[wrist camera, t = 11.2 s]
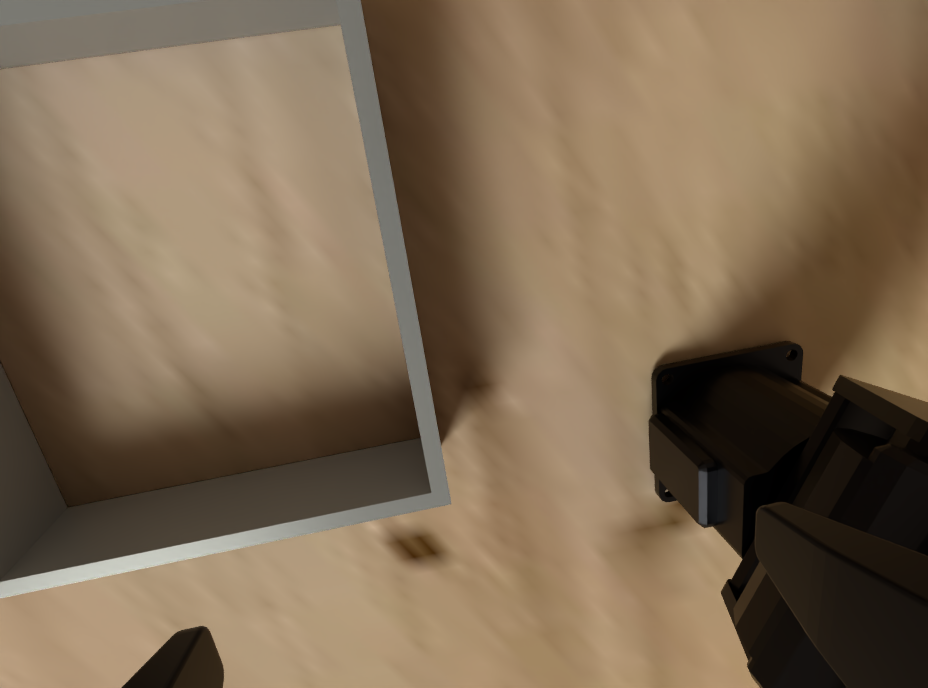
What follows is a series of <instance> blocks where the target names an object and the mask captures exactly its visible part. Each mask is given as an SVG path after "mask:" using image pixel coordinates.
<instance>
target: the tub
mask: <svg viewBox="0 0 928 688" xmlns="http://www.w3.org/2000/svg"><path fill="white" fill-rule="evenodd" d="M334 25H341V28H342V33H343V38H344V43H345V49H346V54H347V59H348V64H349V69H350V74H351V80H352V85H353V90H354V95H355V100H356V105H357V111H358V116H359V121H360V126H361V131H362V136H363V142H364V147H365V152H366V157H367V162H368V167H369V173H370V178H371V183H372V188H373V193H374V198H375V204H376V209H377V214H378V219H379V224H380V229H381V235H382V240H383V245H384V250H385V255H386V260H387V266H388V271H389V276H390V281H391V286H392V291H393V297H394V302H395V307H396V312H397V317H398V322H399V328H400V333H401V338H402V343H403V348H404V353H405V359H406V364H407V369H408V374H409V379H410V384H411V390H412V395H413V400H414V405H415V410H416V415H417V421H418V426H419V431H420V436H421V438H417V439H412V440H407V441H402V442H397V443H392V444H387V445H382V446H377V447H372V448H367V449H362V450H357V451H352V452H347V453H341V454H336V455H331V456H326V457H321V458H316V459H311V460H306V461H301V462H296V463H291V464H286V465H281V466H276V467H271V468H266V469H260V470H255V471H250V472H245V473H240V474H235V475H230V476H225V477H220V478H215V479H210V480H205V481H200V482H195V483H190V484H185V485H179V486H174V487H169V488H164V489H159V490H154V491H149V492H144V493H139V494H134V495H129V496H124V497H119V498H114V499H109V500H104V501H98V502H93V503H88V504H83V505H78V506H73V507H68V508H67V506H66V504H65V501H64V499H63V497H62V495H61V493H60V491H59V488H58V486H57V484H56V482H55V480H54V478H53V475H52V473H51V471H50V469H49V467H48V465H47V462H46V460H45V458H44V456H43V454H42V452H41V449H40V447H39V445H38V443H37V441H36V439H35V436H34V434H33V432H32V430H31V428H30V426H29V423H28V421H27V419H26V417H25V415H24V413H23V410H22V408H21V406H20V404H19V402H18V400H17V397H16V395H15V393H14V391H13V389H12V387H11V384H10V382H9V380H8V378H7V376H6V374H5V371H4V369H3V367H2V365H1V363H0V598H5V597H9V596H14V595H19V594H24V593H28V592H33V591H38V590H43V589H48V588H52V587H57V586H62V585H67V584H72V583H76V582H81V581H86V580H91V579H95V578H100V577H105V576H110V575H115V574H119V573H124V572H129V571H134V570H138V569H143V568H148V567H153V566H158V565H162V564H167V563H172V562H177V561H182V560H186V559H191V558H196V557H201V556H205V555H210V554H215V553H220V552H225V551H229V550H234V549H239V548H244V547H248V546H253V545H258V544H263V543H268V542H272V541H277V540H282V539H287V538H292V537H296V536H301V535H306V534H311V533H315V532H320V531H325V530H330V529H335V528H339V527H344V526H349V525H354V524H358V523H363V522H368V521H373V520H378V519H382V518H387V517H392V516H397V515H402V514H406V513H411V512H416V511H421V510H425V509H430V508H435V507H440V506H445V505H449V504H451V499H450V493H449V488H448V482H447V476H446V471H445V465H444V460H443V454H442V449H441V443H440V438H439V432H438V427H437V421H436V416H435V410H434V404H433V399H432V393H431V388H430V382H429V377H428V371H427V366H426V360H425V355H424V349H423V344H422V338H421V332H420V327H419V321H418V316H417V310H416V305H415V299H414V294H413V288H412V283H411V277H410V271H409V266H408V260H407V255H406V249H405V244H404V238H403V233H402V227H401V222H400V216H399V211H398V205H397V199H396V194H395V188H394V183H393V177H392V172H391V166H390V161H389V155H388V150H387V144H386V139H385V133H384V127H383V122H382V116H381V111H380V105H379V100H378V94H377V89H376V83H375V78H374V72H373V66H372V61H371V55H370V50H369V44H368V39H367V33H366V28H365V22H364V17H363V11H362V6H361V0H0V69H4V68H12V67H20V66H27V65H35V64H43V63H50V62H58V61H66V60H73V59H81V58H89V57H96V56H104V55H112V54H120V53H127V52H135V51H143V50H150V49H158V48H166V47H173V46H181V45H189V44H196V43H204V42H212V41H219V40H227V39H235V38H242V37H250V36H258V35H265V34H273V33H281V32H288V31H296V30H304V29H311V28H319V27H327V26H334Z"/></svg>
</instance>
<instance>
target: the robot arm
mask: <svg viewBox="0 0 928 688" xmlns="http://www.w3.org/2000/svg"><path fill="white" fill-rule="evenodd" d="M790 350H791V352H790V355H789V356H788V357H786V355H787V353H788V352H789V351H790ZM802 360H803V350H802V348H801V346H800V345H798V344H795V343H793V342H791V341H784V342H779V343H774V344H769V345H763V346H758V347H753V348H748V349H743V350H737V351H732V352H727V353H722V354H717V355H712V356H706V357H701V358H696V359H691V360H686V361H681V362H675V363H670V364H665V365H661V366H659V367H657V368H656V369H655V370H654V372H653V373H652V378H651V379H652V411H653V415H652V416H651V417H650V419H649V450H650V469H651V471H652V472H653V473H654V474H655V491H656V494H657V495H658V496H659V497H660V499H661V500H662V501H665V502H672V501H676V500H677V501H678V502H679V503H680V504H681V505H682V506H683V507H684V509H685V510H686V511H687V512H688V513H689V514H690V515H691V517H692V518H693V519H694V520H695V521H696V522H697V523H698V524H699V525H701V526H702V527H704V528H707V527H712V526H713V527H714V528H715V529H716V530H717V532H718V533H719V534H720V535H721V536H722V537H723V538H724V539H725V540H726V541H727V543H728V544H729V545H730V546H731V547H732V548H733V549H734V550H735V551H736V552H737V554H738V555H739V556H740V557H741V558H742V559H743V560H742V561H741V563H740V565H739V567H738V569H737V570H736V572H735V574H734V576H733V578H732V579H728V580H727V582H726V584H725V585H724V587H723V589H722V591H721V594H722V597H723V599H724V602H725V604H726V607H727V609H728V612H729V614H730V617H731V619H732V622H733V624H734V627H735V629H736V631H737V634H738V636H739V639H740V641H741V644H742V646H743V649H744V651H745V654H746V656H747V659H748V663H747V667H748V669H749V671H750V674H751V676H752V678H753V679H754V681H755V682H756V683H757V684H758V685H759V687H760V688H928V402H925V401H922V400H919V399H916V398H912V397H909V396H906V395H903V394H900V393H897V392H894V391H890V390H887V389H884V388H881V387H878V386H875V385H871V384H868V383H865V382H862V381H859V380H856V379H853V378H849V377H846V376H843V375H840V376H839V378H838V379H837V381H836V383H835V385H834V387H833V389H832V390H833V391H835V393H834V394H833V396H832V397H831V396H829V395H827V394H825V393H823V392H822V391H820V390H818V389H816V388H814V387H812V386H810V385H808V384H806V383H804V382H802V381H801V375H802ZM666 374H669V376H668V378H667V380H666V381H663V382H662V377H663V376H664V375H666ZM666 489H668V490H669V491H667V492H665V490H666ZM223 682H224V669H223V664H222V661H221V659H220V656H219V653H218V651H217V648H216V646H215V643H214V640H213V638H212V635H211V633H210V631H209V629H208V628H207V627H204V626H199V627H194V628H190V629H185V630H181V631H178V632H177V633H175V634H174V635H173V636H172V637H171V638H170V639H169V640H168V641H167V642H166V643H165V644H164V645H163V646H162V647H161V648H160V649H159V650H158V651H157V652H156V653H155V654H154V655H153V656H152V657H151V658H150V659H149V660H148V661H147V662H146V663H145V664H144V665H143V666H142V667H141V668H140V669H139V670H138V671H137V672H136V673H135V674H134V675H133V676H132V677H131V679H130V680H129V681H128V682H127V683H126V684H125V685H124V686H123V687H122V688H223Z"/></svg>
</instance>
